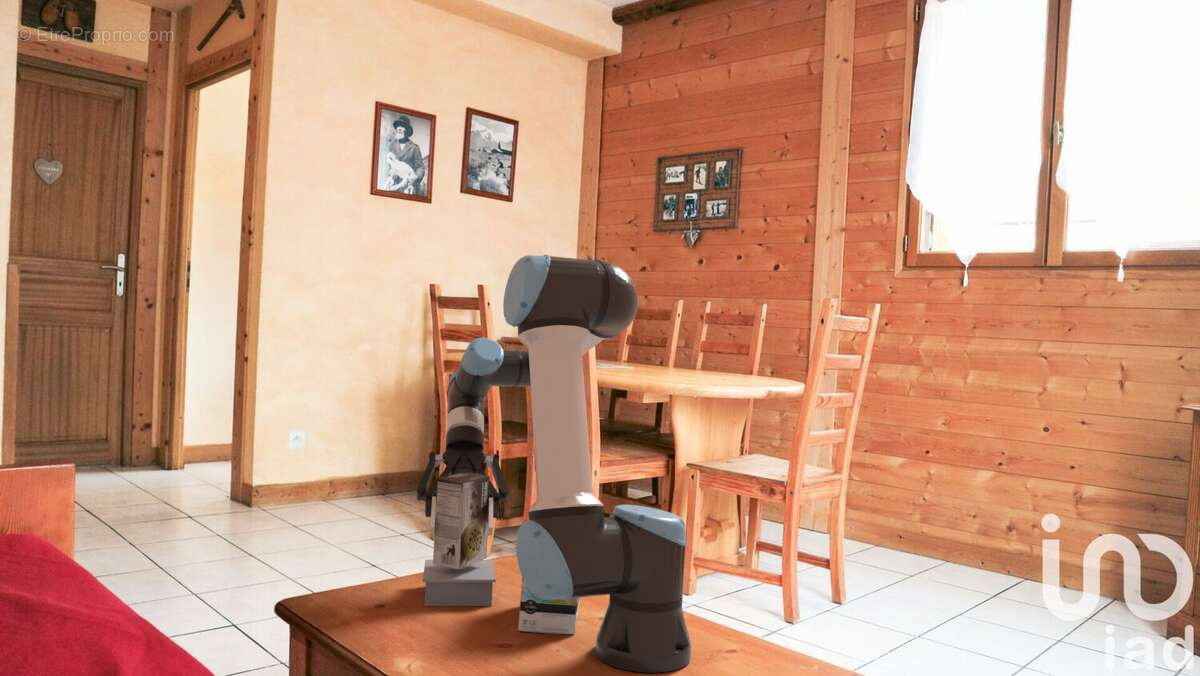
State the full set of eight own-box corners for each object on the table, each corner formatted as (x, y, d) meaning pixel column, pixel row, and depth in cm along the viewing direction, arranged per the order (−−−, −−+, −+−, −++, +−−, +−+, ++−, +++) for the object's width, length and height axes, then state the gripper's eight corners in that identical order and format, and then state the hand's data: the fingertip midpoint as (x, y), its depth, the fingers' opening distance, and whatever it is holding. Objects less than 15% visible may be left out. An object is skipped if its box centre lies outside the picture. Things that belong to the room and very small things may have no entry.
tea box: (576, 636, 144) (581, 548, 144) (517, 632, 144) (521, 544, 144) (580, 607, 159) (584, 527, 159) (525, 604, 159) (530, 524, 159)
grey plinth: (494, 606, 157) (495, 579, 157) (421, 607, 155) (422, 579, 154) (491, 585, 170) (492, 560, 169) (424, 585, 167) (425, 559, 167)
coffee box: (459, 553, 168) (463, 471, 167) (487, 559, 165) (491, 474, 165) (431, 564, 159) (435, 477, 159) (459, 570, 156) (464, 481, 156)
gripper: (519, 447, 179) (520, 542, 163) (408, 444, 175) (399, 541, 160) (522, 425, 173) (524, 520, 158) (408, 421, 170) (398, 519, 154)
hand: (461, 531), depth 159 cm, fingers closed on coffee box, 10 cm apart
